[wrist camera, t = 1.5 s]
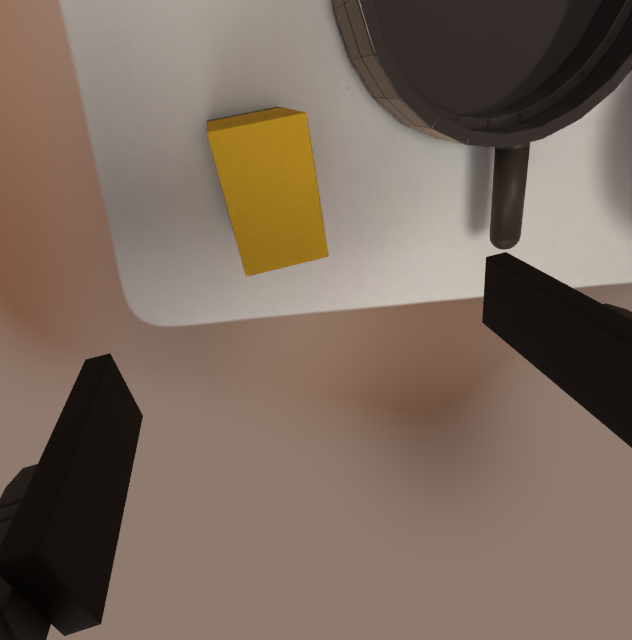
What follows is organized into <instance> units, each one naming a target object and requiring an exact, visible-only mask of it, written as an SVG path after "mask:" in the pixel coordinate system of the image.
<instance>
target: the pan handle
mask: <svg viewBox="0 0 632 640" xmlns="http://www.w3.org/2000/svg"><path fill="white" fill-rule="evenodd" d="M529 149H530V142H527V143H522V144H518V145H514V146H510V147H505V148H497V147H495V159H494V175H493V191H492V207H491V223H490V241H491V243H492V244H493V245H494V246H495V247H496V248H499V249H509V248H512V247H513V246H515V245H516V244H517V243H518V241H519V239H520V235H521V226H522V217H523V207H524V197H525V188H526V178H527V168H528V159H529Z"/></svg>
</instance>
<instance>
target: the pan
mask: <svg viewBox="0 0 632 640" xmlns="http://www.w3.org/2000/svg"><path fill="white" fill-rule="evenodd" d="M333 4H334V9H335V14H336V17H337V20H338V23H339V26H340V29H341V32H342V35H343V38H344V41H345V44H346V47H347V50H348V53H349V56H350V59H351V61H352V63H353V64H354V66H355V67H356V69H357V71H358V72H359V74H360V76H361V77H362V79H363V80H364V82H365V84H366V85H367V87H368V88H369V90H370V92H371V93H372V95H373V96H374V97H375V99H376V100H377V101H378V102H379V103H381V104H382V105H383V106H384V107H385V108H386V109H387V110H388V111H389V112H390V113H392V114H393V115H394V116H395V117H396V118H397V119H398V120H399V121H400V122H401V123H403V124H404V125H407V126H409V127H411V128H413V129H415V130H418V131H420V132H422V133H424V134H427V135H429V136H431V137H433V138H437V139H441V140H446V141H451V142H456V143H461V144H466V145H475V146H486V147H497V148H505V147H510V146H514V145H518V144H522V143H527V142H532V141H536V140H540V139H543V138H545V137H547V136H549V135H551V134H553V133H554V132H556V131H558V130H560V129H562V128H564V127H566V126H568V125H570V124H572V123H574V122H575V121H577V120H579V119H581V118H582V117H583V116H584V115H585V114H587V113H588V112H589V111H590V110H591V109H593V108H594V107H595V106H596V105H597V104H599V103H600V102H601V101H602V100H603V99H605V98H606V97H607V96H608V95H609V94H610V93H612V92H613V91H614V90H615V88H617V87H618V85H619V84H620V83H621V82H622V81H623V79H624V78H625V77H626V76H627V74H628V73H629V72H630V71H631V70H632V0H333Z"/></svg>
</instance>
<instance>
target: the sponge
mask: <svg viewBox="0 0 632 640" xmlns="http://www.w3.org/2000/svg"><path fill="white" fill-rule="evenodd" d="M207 136H208V140H209V143H210V147H211V151H212V154H213V158H214V162H215V165H216V169H217V172H218V176H219V180H220V183H221V187H222V191H223V194H224V198H225V201H226V205H227V209H228V212H229V216H230V220H231V223H232V227H233V230H234V234H235V238H236V241H237V245H238V249H239V252H240V256H241V259H242V263H243V267H244V270H245V274H246V276H251V275H255V274H259V273H263V272H267V271H271V270H275V269H279V268H283V267H287V266H291V265H296V264H300V263H304V262H308V261H312V260H316V259H320V258H324V257H328V250H327V243H326V237H325V230H324V224H323V218H322V211H321V205H320V198H319V192H318V185H317V179H316V173H315V166H314V160H313V153H312V147H311V141H310V134H309V128H308V121H307V115H306V113H305V112H301V111H296V110H291V109H287V108H282V107H275V108H270V109H265V110H260V111H255V112H250V113H245V114H240V115H235V116H230V117H225V118H220V119H214V120H209V121H207Z"/></svg>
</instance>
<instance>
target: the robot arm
mask: <svg viewBox="0 0 632 640" xmlns="http://www.w3.org/2000/svg"><path fill="white" fill-rule="evenodd" d="M482 322H483V323H484V324H485V325H486V326H487V327H489V328H490V329H491V330H492V331H493V332H494V333H496V334H497V335H498V336H499V337H501V338H502V339H503V340H504V341H505V342H506V343H508V344H509V345H510V346H511V347H512V348H514V349H515V350H516V351H517V352H519V353H520V354H521V355H522V356H523V357H524V358H526V359H527V360H528V361H529V362H530V363H532V364H533V365H534V366H535V367H536V368H537V369H539V370H540V371H541V372H542V373H543V374H545V375H546V376H547V377H548V378H550V379H551V380H552V381H553V382H554V383H555V384H556V385H558V386H559V387H560V388H561V389H562V390H564V391H565V392H566V393H567V394H568V395H570V396H571V397H572V398H573V399H574V400H575V401H577V402H578V403H579V404H580V405H581V406H583V407H584V408H585V409H586V410H587V411H589V412H590V413H591V414H592V415H593V416H595V417H596V418H597V419H598V420H599V421H600V422H602V423H603V424H604V425H605V426H606V427H608V428H609V429H610V430H611V431H612V432H614V433H615V434H616V435H617V436H618V437H620V438H621V439H622V440H623V441H624V442H626V443H627V444H628V445H629V446H630V447H631V448H632V312H631V311H629V310H627V309H624V308H620V307H616V306H613V305H609V304H601V303H599V302H597V301H596V300H594V299H592V298H590V297H588V296H586V295H584V294H583V293H581V292H579V291H577V290H575V289H573V288H571V287H570V286H568V285H566V284H564V283H562V282H560V281H558V280H557V279H555V278H553V277H551V276H549V275H547V274H545V273H544V272H542V271H540V270H538V269H536V268H534V267H532V266H531V265H529V264H527V263H525V262H523V261H521V260H519V259H518V258H516V257H514V256H512V255H510V254H508V253H506V252H505V253H501V254H497V255H493V256H489V257H486V270H485V287H484V304H483V321H482ZM142 418H143V415H142V413H141V412H140V410H139V408H138V406H137V404H136V402H135V400H134V398H133V396H132V394H131V392H130V390H129V389H128V387H127V385H126V383H125V381H124V379H123V377H122V375H121V373H120V371H119V370H118V367H117V365H116V364H115V362H114V360H113V358H112V356H111V354H106V355H102V356H98V357H94V358H90V359H86V360H85V362H84V364H83V367H82V369H81V371H80V373H79V375H78V377H77V380H76V382H75V384H74V386H73V388H72V391H71V393H70V395H69V397H68V399H67V402H66V404H65V406H64V408H63V410H62V412H61V415H60V417H59V419H58V421H57V423H56V426H55V428H54V430H53V432H52V434H51V437H50V439H49V441H48V443H47V445H46V447H45V450H44V452H43V454H42V456H41V458H40V461H39V463H38V464H36V465H33V466H29V467H25V468H23V469H22V470H21V471H20V472H19V473H18V474H17V475H16V476H15V478H14V479H13V480H12V481H11V482H10V484H8V485H7V487H6V488H5V490H4V492H3V494H2V496H1V498H0V640H46V639H47V635H48V632H49V628H50V625H51V624H52V625H53V626H54V627H55V628H56V629H57V630H58V631H60V632H61V633H62V634H63V635H64V636H66V635H69V634H72V633H75V632H78V631H81V630H84V629H87V628H90V627H93V626H96V625H99V624H101V621H102V616H103V612H104V607H105V602H106V597H107V592H108V587H109V581H110V576H111V572H112V567H113V562H114V557H115V551H116V547H117V542H118V537H119V532H120V527H121V521H122V517H123V512H124V507H125V502H126V497H127V492H128V487H129V482H130V477H131V472H132V467H133V462H134V457H135V452H136V447H137V442H138V437H139V433H140V427H141V423H142Z"/></svg>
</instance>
